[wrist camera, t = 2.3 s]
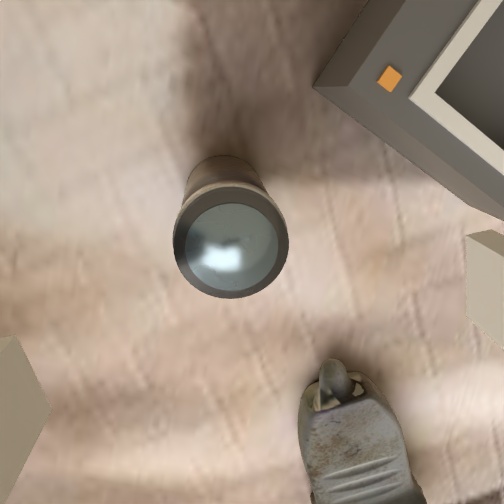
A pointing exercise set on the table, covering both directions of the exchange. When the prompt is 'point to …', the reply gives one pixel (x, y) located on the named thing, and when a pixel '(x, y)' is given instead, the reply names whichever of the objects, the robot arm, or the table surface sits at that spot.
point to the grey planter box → (430, 89)
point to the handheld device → (353, 442)
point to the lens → (229, 230)
